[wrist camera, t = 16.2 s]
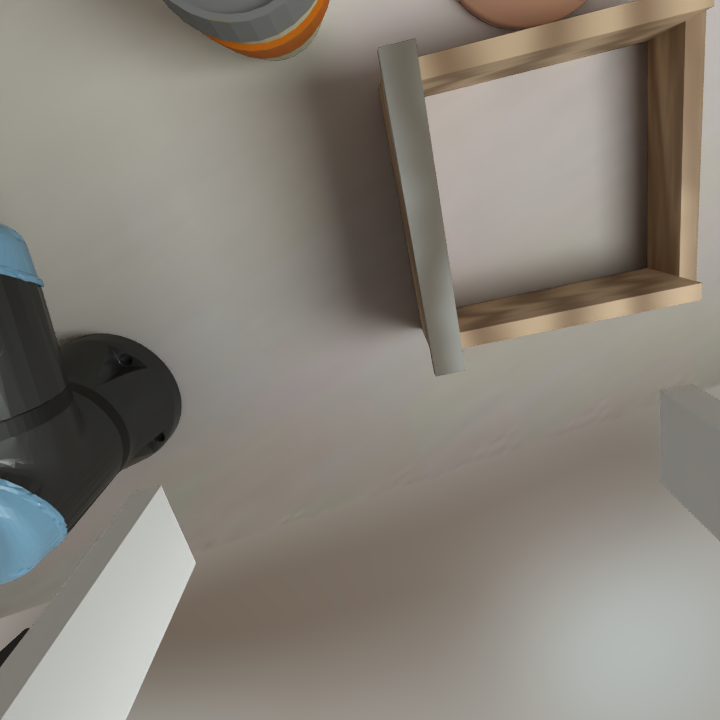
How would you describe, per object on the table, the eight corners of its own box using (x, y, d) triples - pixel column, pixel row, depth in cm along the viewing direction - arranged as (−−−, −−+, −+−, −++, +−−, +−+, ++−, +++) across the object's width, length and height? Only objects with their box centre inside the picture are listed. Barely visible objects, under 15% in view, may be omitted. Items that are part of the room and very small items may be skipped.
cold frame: (417, 329, 49) (435, 376, 36) (373, 90, 41) (378, 47, 29) (662, 279, 47) (768, 310, 34) (665, 16, 39) (803, -64, 27)
